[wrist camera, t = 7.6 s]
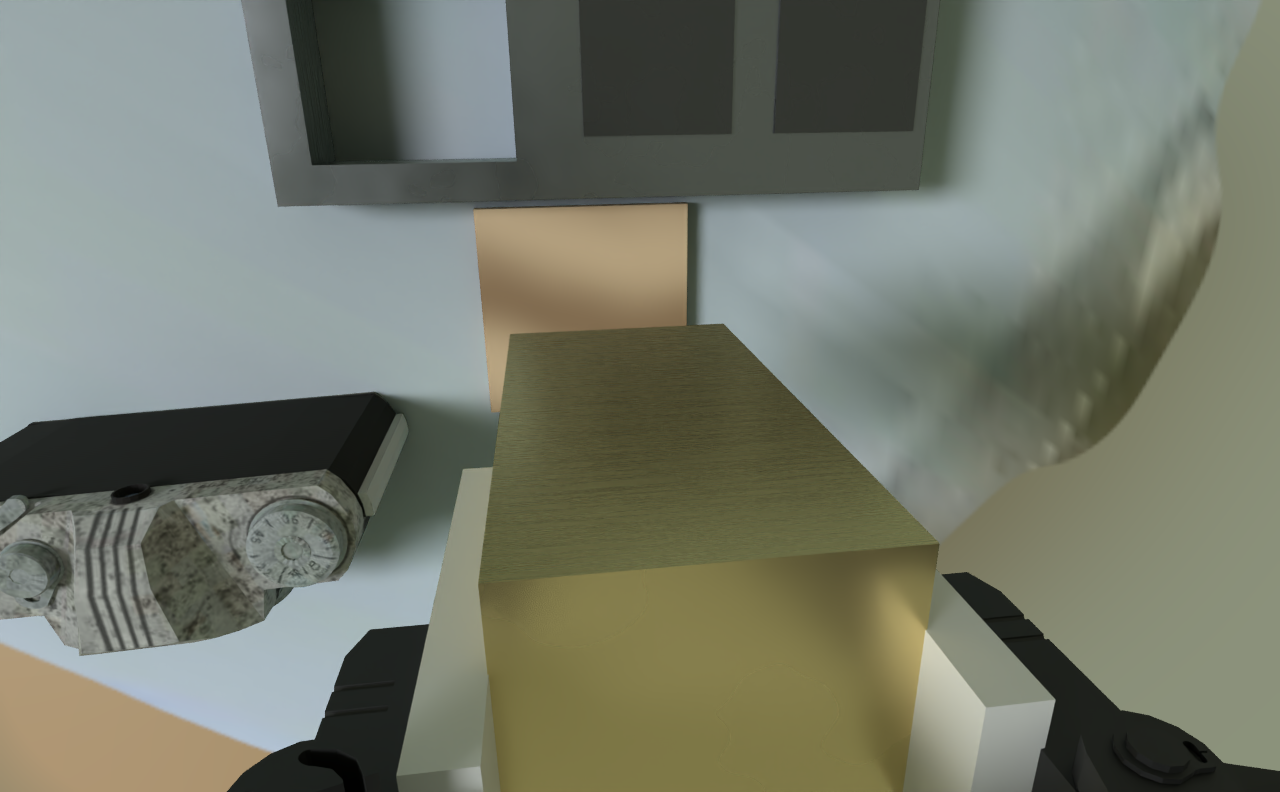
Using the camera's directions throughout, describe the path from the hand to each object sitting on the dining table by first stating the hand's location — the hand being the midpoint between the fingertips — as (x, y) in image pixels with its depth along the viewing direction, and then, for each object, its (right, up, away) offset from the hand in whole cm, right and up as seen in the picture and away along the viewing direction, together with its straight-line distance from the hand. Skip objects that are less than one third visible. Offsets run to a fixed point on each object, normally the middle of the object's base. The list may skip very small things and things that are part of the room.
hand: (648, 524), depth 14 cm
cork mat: (-2, +6, +16) cm, 17 cm away
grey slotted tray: (-2, +14, +13) cm, 19 cm away
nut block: (-1, +2, +5) cm, 5 cm away
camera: (-17, -1, +17) cm, 24 cm away
